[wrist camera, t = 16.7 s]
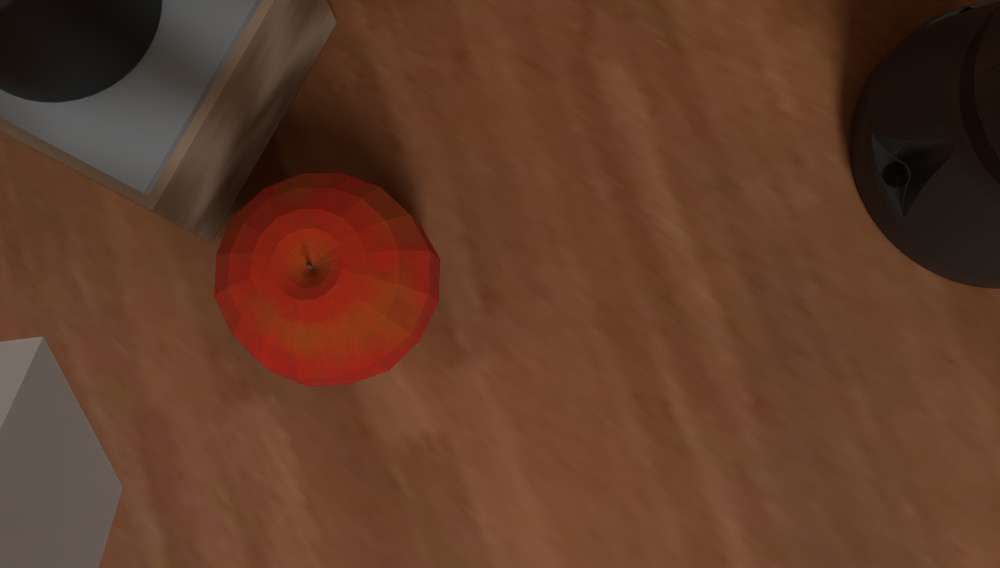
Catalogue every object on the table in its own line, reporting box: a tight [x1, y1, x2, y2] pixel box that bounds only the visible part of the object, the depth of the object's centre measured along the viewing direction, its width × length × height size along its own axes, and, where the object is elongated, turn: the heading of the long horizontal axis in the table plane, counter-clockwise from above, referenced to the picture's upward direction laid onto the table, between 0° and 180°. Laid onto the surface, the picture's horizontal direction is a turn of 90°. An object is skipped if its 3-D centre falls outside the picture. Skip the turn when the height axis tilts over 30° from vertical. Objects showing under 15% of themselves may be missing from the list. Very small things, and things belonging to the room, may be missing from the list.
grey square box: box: [0, 0, 337, 243], centre depth 47 cm, size 14×14×9 cm
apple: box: [214, 173, 440, 387], centre depth 44 cm, size 10×10×12 cm
